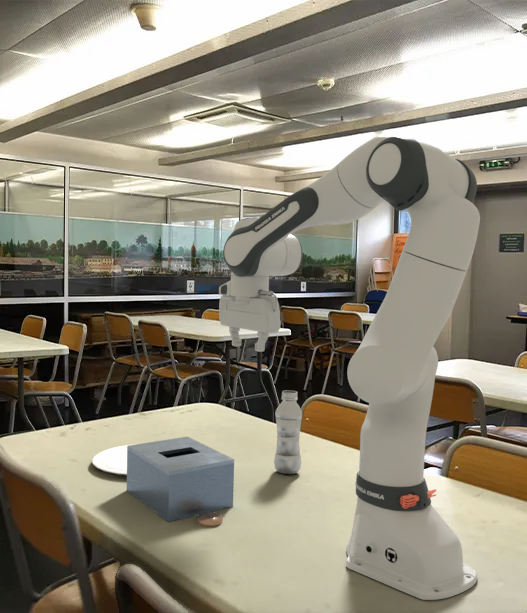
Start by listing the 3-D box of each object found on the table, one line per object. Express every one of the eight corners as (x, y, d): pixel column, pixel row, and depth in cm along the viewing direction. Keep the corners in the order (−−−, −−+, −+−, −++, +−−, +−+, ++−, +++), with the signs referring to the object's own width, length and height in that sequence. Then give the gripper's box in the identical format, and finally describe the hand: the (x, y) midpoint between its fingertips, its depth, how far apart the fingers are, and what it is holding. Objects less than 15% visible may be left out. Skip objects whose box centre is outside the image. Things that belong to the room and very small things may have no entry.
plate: (122, 489, 138) (122, 481, 138) (74, 461, 157) (74, 454, 156) (213, 468, 154) (213, 461, 154) (159, 445, 173) (160, 438, 173)
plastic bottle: (299, 478, 148) (301, 395, 147) (271, 475, 149) (273, 393, 148) (302, 469, 154) (305, 390, 153) (276, 467, 156) (278, 388, 154)
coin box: (233, 506, 129) (234, 459, 129) (168, 521, 121) (169, 471, 120) (186, 478, 146) (187, 436, 145) (126, 490, 137) (127, 445, 136)
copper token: (227, 524, 121) (227, 518, 121) (206, 530, 118) (206, 524, 118) (213, 515, 125) (213, 510, 125) (192, 521, 122) (192, 515, 122)
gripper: (288, 291, 136) (286, 353, 137) (236, 287, 153) (235, 343, 154) (264, 291, 133) (262, 355, 133) (215, 287, 149) (213, 344, 150)
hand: (247, 348), depth 144 cm, fingers open, 8 cm apart
